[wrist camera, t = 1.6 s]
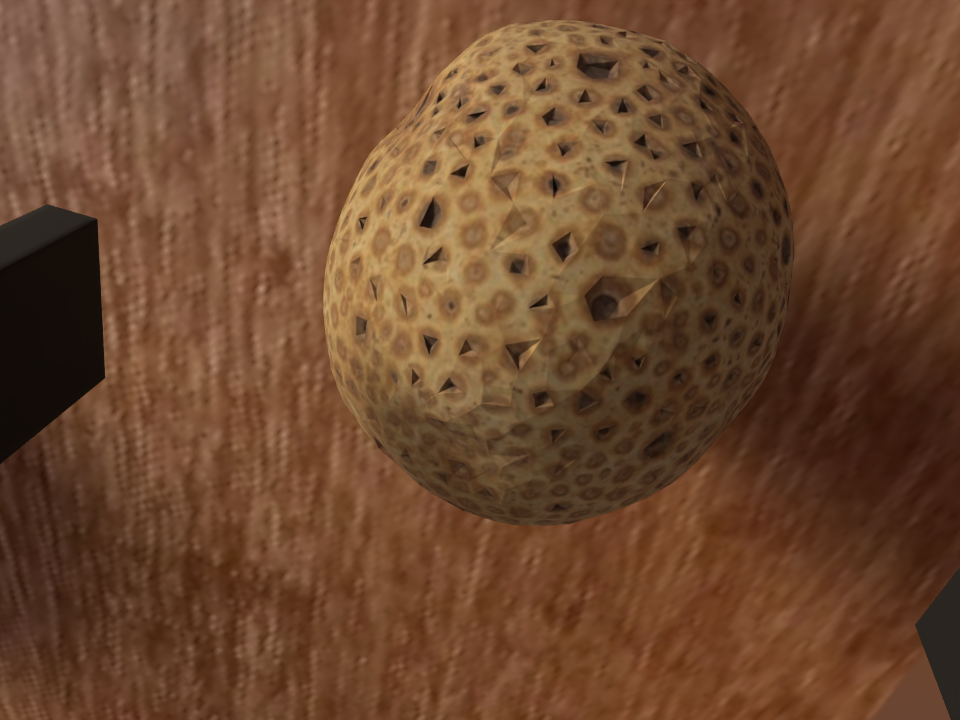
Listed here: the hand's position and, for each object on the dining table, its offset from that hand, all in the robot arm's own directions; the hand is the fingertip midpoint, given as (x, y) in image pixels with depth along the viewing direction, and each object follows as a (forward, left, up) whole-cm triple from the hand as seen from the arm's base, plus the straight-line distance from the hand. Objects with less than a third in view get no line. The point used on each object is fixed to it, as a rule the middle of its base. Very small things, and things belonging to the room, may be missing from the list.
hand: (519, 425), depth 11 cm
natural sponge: (0, 0, -10) cm, 10 cm away
